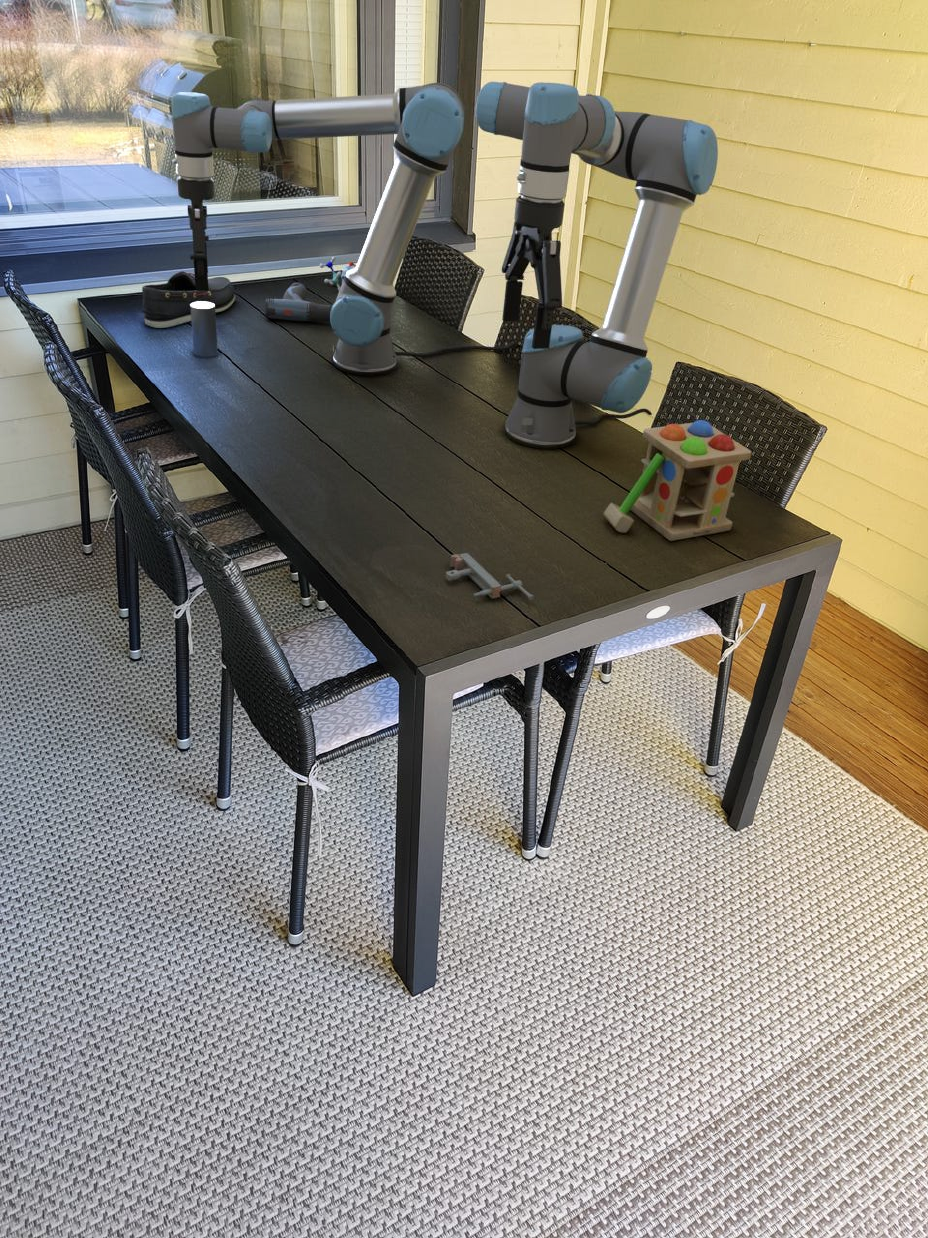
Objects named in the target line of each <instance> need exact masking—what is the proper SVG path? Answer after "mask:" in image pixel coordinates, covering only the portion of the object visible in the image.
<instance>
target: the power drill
mask: <svg viewBox="0 0 928 1238" xmlns="http://www.w3.org/2000/svg"><path fill="white" fill-rule="evenodd" d="M307 295H308V290H307V287H306V285H304V284H303V283H301V282H293V283H292V284H291V285H290V286H289V287H288V288H287V289H286V291H285V292H284V294H283V297H282V298H266V299H265V302H264V313H265V314H264V316H265V318H267V319H274V320H275V319H276V320H283V321H294V322H295V321H297V322H330V311H331V308H332V306H333V305H331V304H324V303H317V302H313V301H307V300H305V299H306V297H307ZM330 323H331V322H330Z"/></svg>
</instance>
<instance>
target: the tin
mask: <svg viewBox="0 0 928 1238" xmlns="http://www.w3.org/2000/svg"><path fill="white" fill-rule="evenodd" d="M190 309H191V321H190V323H191V333H192V348H193V349H192V350H193V354H194V356H196V357H200V358H212V357H216V356H218V354H219V349H218V348H219V347H218V332H217V316H216V312H215V304H213V303H211V302H204V301H200V302H194V303H191V304H190Z"/></svg>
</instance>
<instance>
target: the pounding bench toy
mask: <svg viewBox="0 0 928 1238" xmlns="http://www.w3.org/2000/svg"><path fill="white" fill-rule="evenodd" d="M642 438H643V440H645V441H646V442H648V446H647V450H646V455H645V458H642V459H641V463H643V464H644V465H643V469H642V474H641V475H640V477H639V478H638V480H637V481H636V483H635V484H634V486H633V488H632V489H631V490H630V492H629V493H628V495H627V496H626V498H625V499H624V501H623V502H622V503H621V505H620V506H619V505H617V504H615V503H613V502H610V503H609V504H608V505H607V507H606V509H605V510H604V512H603V517H604V518H605V519H606V520H607V521H608V522H609V524H610V525H611V526H612V527H613V528H614V529H615V530H616V531H617V532H618V533H621V534H623V533H624V534H625V533H627V532H628V531H629V530H630V529H631V527H632V526H633V524H634V523H635V521H634V519H633V518H632V516H630V515H629V512H630V511H631V512H632V513H634V515H636V516H638V518H640V519H641V520H642V521H644V522H645V523H646V524H648V525H649V526H650V527H652V529H654V530H655V531H656V532H658V533H659V534H661V536H663V537H664V538H666V539H667V540H668V541H670V542H673V541H680V540H684V539H690V538H695V537H702V536H707V535H712V534H717V533H724V532H728V531H731V529H732V527H733V521H732V520H731V519H729V518H728V517H727V512H728V509H729V505H730V501H731V498H732V497H733V498H734V497H735V493H734V492H733V490H734V487H735V486H734V485H735V482H736V479H737V474H738V470H739V466H740V462H743V461H749V460H750V459H751V457H752V453H753V452H752V450H750V449H749V448H747V447H745V446H743V444H741V443H739V442H738V441H736V440H734V439H733V438H732V437H731V436H729V435H728V434H725V433H724V432H722V431H721V430H719V429H717V428H716V427H714V426H712V425H711V423H710V422H708V421H706V420H703V419H698V420H696V421H694V422H688V423H680V424H679V423H678V424H677V423H669V424H666V425H664V426H655V427H650V428H649V427H648V428H644V429H643V432H642Z"/></svg>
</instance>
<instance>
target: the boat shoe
mask: <svg viewBox="0 0 928 1238" xmlns="http://www.w3.org/2000/svg"><path fill="white" fill-rule="evenodd" d="M208 288H209V291H196V289H195V274H194V273H191V272H187V271H183V270H182V271H179V272H176V273H174V274H173V275H172V276H171V277H170V278H169V279H168V280H167V282H166V283H158V284H145V285H143V286H142V287H141V292H142V299H143V300H142V307H143V308H141V312H142V313H143V314H144V324H145V325H146V326H148V327H151V328H157V329H165V328H171V327H174V326H178V325H181V324H185V323H189V322H191V309H190V304H191V303H194V302H200V301H204V302H211V303H213V304H215V313H219V312H223V311H225V310H227V309H229V308H230V307H231V306H232V305H233V303H234V302H235V300H236V292H235V290H234V286H233V283H232V282H231V280H230V279H229V278H227V277H225V276H216V277H211V278H208Z"/></svg>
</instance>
